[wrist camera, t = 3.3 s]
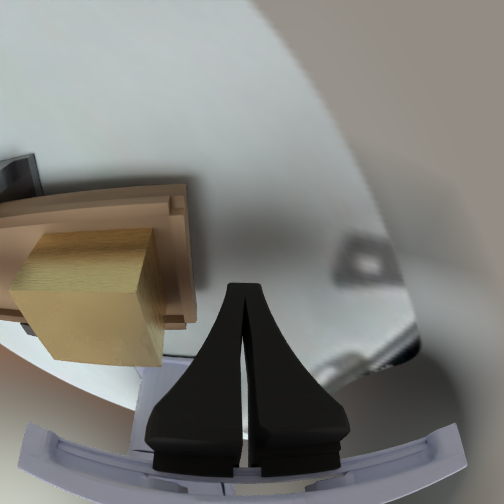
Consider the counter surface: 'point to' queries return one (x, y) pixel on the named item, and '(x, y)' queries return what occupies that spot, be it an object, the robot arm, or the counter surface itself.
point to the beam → (105, 218)
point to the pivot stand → (19, 188)
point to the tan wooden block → (95, 296)
